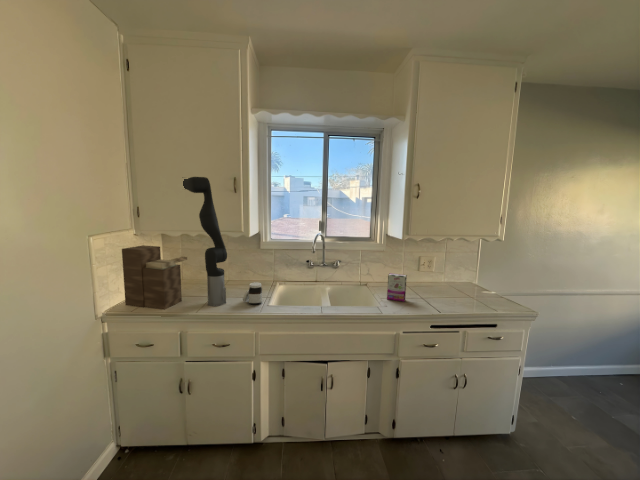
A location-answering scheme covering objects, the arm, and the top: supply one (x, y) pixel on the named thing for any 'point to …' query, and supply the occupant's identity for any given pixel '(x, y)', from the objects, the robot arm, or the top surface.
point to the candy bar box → (396, 287)
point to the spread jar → (254, 294)
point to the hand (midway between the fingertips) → (179, 232)
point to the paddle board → (164, 263)
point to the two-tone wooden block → (149, 279)
